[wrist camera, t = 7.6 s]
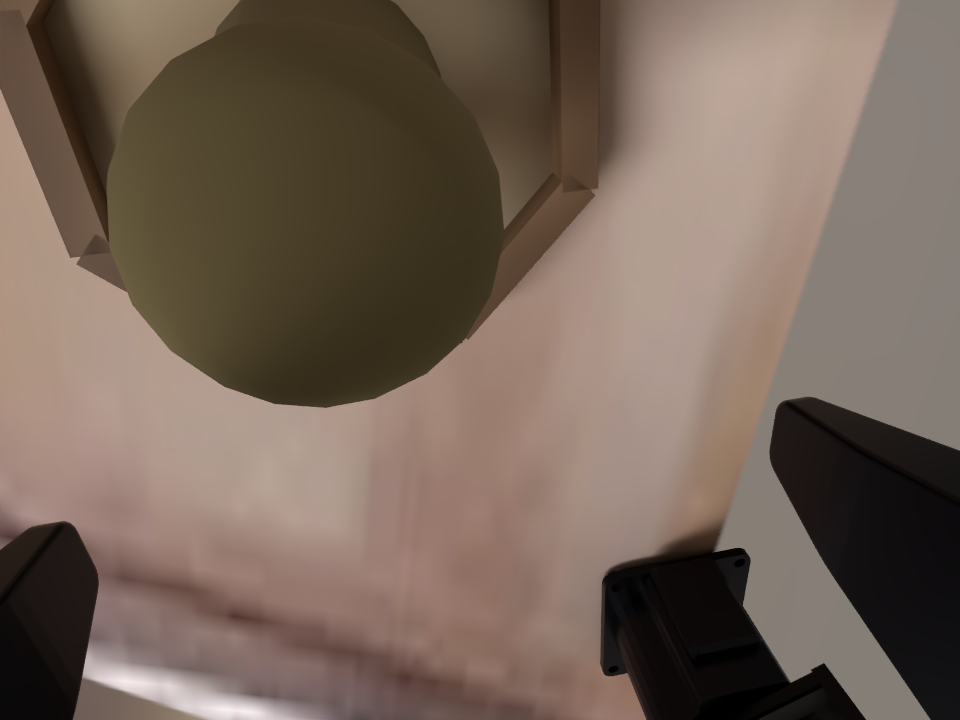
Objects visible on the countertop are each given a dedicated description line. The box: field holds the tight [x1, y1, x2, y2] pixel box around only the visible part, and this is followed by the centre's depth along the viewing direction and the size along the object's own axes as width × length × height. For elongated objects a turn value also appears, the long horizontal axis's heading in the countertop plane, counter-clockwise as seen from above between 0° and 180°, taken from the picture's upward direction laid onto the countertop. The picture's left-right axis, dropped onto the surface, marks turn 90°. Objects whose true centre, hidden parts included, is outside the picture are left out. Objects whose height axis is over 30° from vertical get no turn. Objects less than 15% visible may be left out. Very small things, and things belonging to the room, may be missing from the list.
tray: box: [0, 0, 600, 343], centre depth 17 cm, size 14×14×2 cm
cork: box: [107, 0, 504, 408], centre depth 13 cm, size 6×6×11 cm
